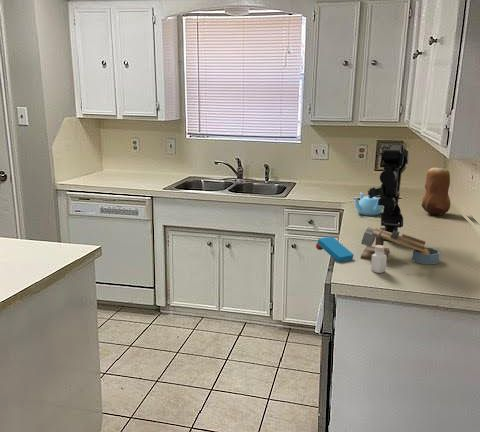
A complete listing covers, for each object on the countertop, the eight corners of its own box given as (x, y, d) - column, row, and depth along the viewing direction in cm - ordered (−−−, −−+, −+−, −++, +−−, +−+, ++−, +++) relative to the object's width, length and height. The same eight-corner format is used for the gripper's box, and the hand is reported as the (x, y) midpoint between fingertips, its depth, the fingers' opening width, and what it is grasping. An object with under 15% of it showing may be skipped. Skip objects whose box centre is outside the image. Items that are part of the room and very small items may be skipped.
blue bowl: (413, 254, 193) (414, 245, 192) (439, 257, 189) (440, 248, 188) (411, 262, 184) (411, 253, 183) (438, 265, 180) (439, 256, 179)
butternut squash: (444, 211, 262) (448, 165, 256) (452, 217, 249) (457, 169, 243) (418, 211, 264) (421, 165, 258) (424, 217, 251) (428, 169, 245)
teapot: (386, 212, 264) (387, 193, 261) (380, 218, 251) (381, 198, 248) (359, 209, 270) (360, 191, 268) (352, 215, 257) (353, 196, 255)
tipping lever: (364, 237, 199) (370, 221, 196) (420, 256, 191) (426, 239, 189) (360, 244, 191) (366, 226, 188) (418, 263, 183) (424, 246, 181)
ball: (431, 249, 187) (427, 258, 188) (420, 245, 188) (417, 254, 189) (430, 252, 183) (427, 261, 184) (419, 248, 184) (416, 258, 186)
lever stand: (366, 248, 202) (367, 225, 200) (389, 250, 198) (390, 227, 196) (360, 258, 190) (361, 234, 187) (384, 261, 186) (385, 236, 184)
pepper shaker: (386, 271, 175) (387, 246, 173) (379, 274, 173) (380, 248, 171) (377, 268, 178) (378, 243, 176) (370, 270, 176) (371, 245, 174)
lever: (349, 269, 191) (323, 246, 205) (353, 254, 188) (326, 231, 202) (336, 272, 188) (310, 248, 202) (339, 257, 185) (313, 234, 199)
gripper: (373, 176, 205) (371, 211, 209) (365, 183, 189) (363, 222, 193) (400, 177, 201) (398, 214, 205) (395, 185, 184) (392, 224, 188)
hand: (387, 218), depth 198 cm, fingers closed
